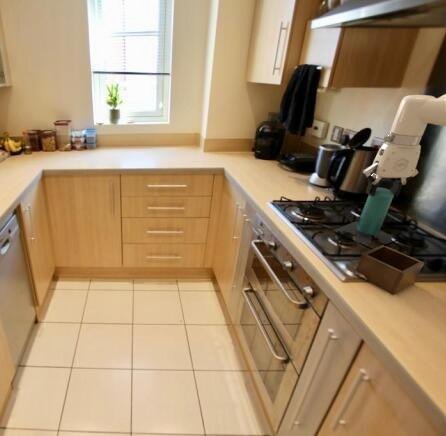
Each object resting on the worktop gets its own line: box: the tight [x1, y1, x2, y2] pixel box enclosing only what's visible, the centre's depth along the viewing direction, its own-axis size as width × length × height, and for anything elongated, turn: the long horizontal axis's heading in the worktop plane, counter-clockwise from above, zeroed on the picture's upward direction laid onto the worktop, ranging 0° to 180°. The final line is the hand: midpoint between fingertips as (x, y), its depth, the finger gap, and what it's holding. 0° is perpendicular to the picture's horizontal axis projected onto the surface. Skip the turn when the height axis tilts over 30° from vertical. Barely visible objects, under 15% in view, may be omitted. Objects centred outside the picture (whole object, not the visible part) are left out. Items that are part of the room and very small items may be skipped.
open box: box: [355, 245, 425, 296], centre depth 87 cm, size 10×10×7 cm
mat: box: [332, 220, 393, 244], centre depth 109 cm, size 14×14×1 cm
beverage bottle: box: [357, 178, 395, 235], centre depth 105 cm, size 6×7×20 cm
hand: (381, 194), depth 102 cm, fingers closed on beverage bottle, 6 cm apart
